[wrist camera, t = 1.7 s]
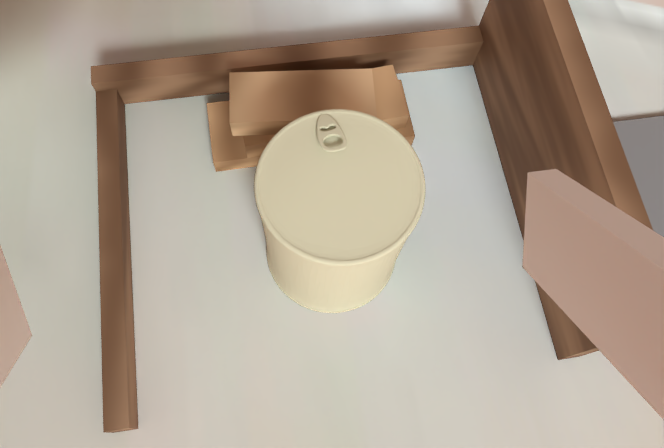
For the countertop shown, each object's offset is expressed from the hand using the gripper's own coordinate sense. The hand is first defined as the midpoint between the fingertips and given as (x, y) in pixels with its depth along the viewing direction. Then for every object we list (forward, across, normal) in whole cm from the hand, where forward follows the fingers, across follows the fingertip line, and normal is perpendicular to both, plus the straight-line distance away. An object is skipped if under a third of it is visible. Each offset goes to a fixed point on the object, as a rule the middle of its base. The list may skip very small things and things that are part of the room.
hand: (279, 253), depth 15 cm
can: (+24, +3, -12) cm, 27 cm away
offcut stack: (+31, +3, -5) cm, 31 cm away
